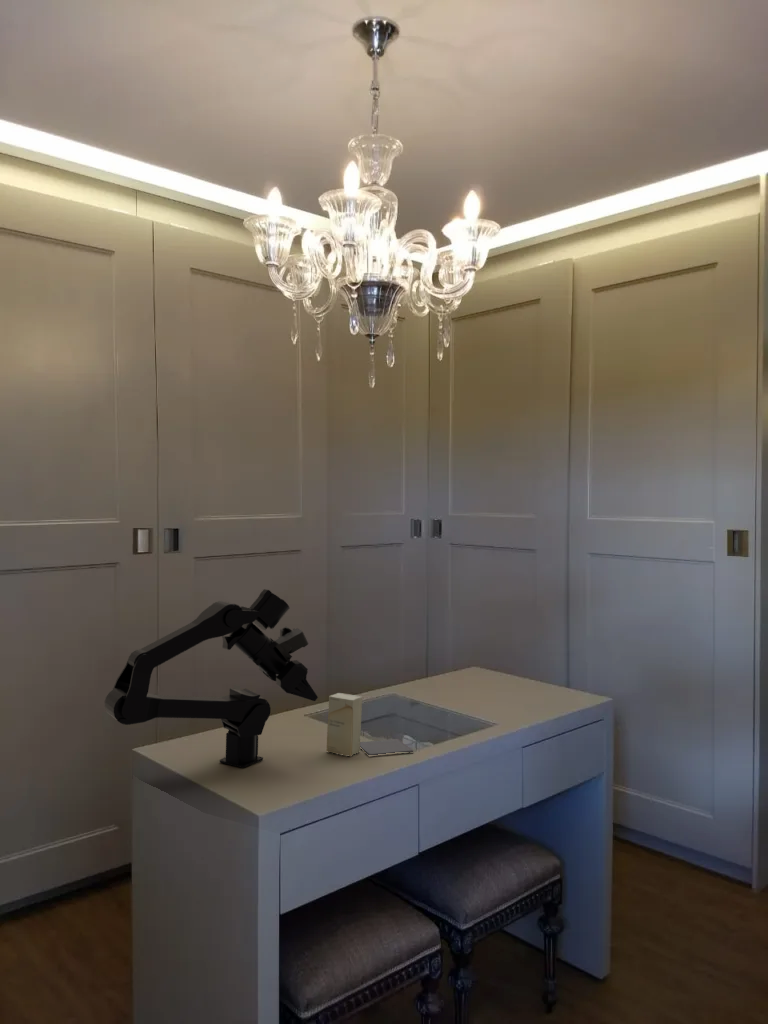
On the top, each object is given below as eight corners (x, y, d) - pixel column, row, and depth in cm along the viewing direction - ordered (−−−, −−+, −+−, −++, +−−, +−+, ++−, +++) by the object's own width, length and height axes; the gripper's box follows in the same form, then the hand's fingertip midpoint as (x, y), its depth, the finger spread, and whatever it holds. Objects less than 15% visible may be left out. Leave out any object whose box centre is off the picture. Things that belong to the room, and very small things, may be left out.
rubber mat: (369, 757, 163) (369, 754, 163) (355, 744, 171) (355, 742, 171) (412, 753, 167) (413, 750, 167) (397, 741, 175) (397, 738, 175)
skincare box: (325, 752, 165) (327, 696, 165) (336, 747, 169) (337, 692, 169) (351, 757, 162) (352, 699, 162) (361, 752, 166) (362, 695, 166)
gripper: (296, 623, 153) (349, 673, 157) (272, 611, 170) (320, 656, 175) (258, 667, 150) (313, 716, 154) (237, 650, 167) (287, 695, 172)
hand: (309, 694), depth 164 cm, fingers open, 9 cm apart
